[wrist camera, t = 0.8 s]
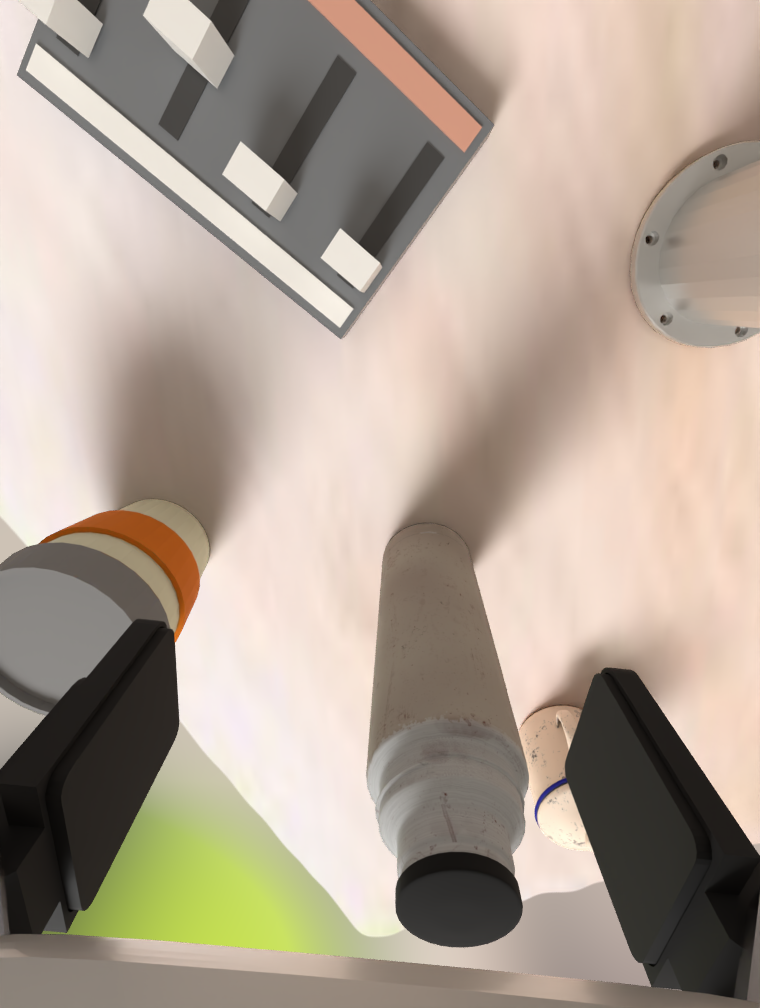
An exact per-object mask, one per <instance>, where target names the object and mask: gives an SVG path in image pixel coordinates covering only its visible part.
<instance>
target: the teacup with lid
mask: <svg viewBox="0 0 760 1008" xmlns="http://www.w3.org/2000/svg"><path fill="white" fill-rule="evenodd" d="M582 710H583V709H580V708H577V707H573V706H553V707H548V708H545V709H542V710H540V711H538V712H536V713H534V714H533V715H532V716H530V717H529V718H528V719H527V720H526V721H525V722H524V724H523V725H522V727H521V729H520V732H519V736H520V740H521V744H522V747H523V751H524V754H525V758H526V762H527V767H528V772H529V786H530V790H531V793H532V797H533V801H534V805H535V819H536V822H537V824H538V826H539V828H540V829H541V831H542V832H543V833H544V834H545V836H546V837H547V838H548V839H550V840H551V841H552V842H554V843H555V844H557V845H559V846H562V847H564V848H568V849H572V850H578V851H591V852H592V853H594V852H593V849H592V847H591V844H590V841H589V839H588V836H587V833H586V830H585V828H584V825H583V822H582V820H581V817H580V814H579V812H578V809H577V806H576V804H575V801H574V798H573V796H572V793H571V790H570V788H569V785H568V782H567V779H566V775H565V760H566V757H567V754H568V751H569V748H570V745H571V742H572V739H573V736H574V733H575V730H576V728H577V725H578V722H579V719H580V716H581V713H582Z"/></svg>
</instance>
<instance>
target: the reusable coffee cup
mask: <svg viewBox="0 0 760 1008" xmlns="http://www.w3.org/2000/svg"><path fill="white" fill-rule="evenodd" d="M209 554H210V546H209V541H208V537H207V535H206V533H205V530H204V529H203V527H202V526H201V524H200V523H199V521H198V520H197V519H196V518H195V517H194V516H193V515H192V514H191V513H190V512H188V511H187V510H186V509H184V508H182V507H181V506H179V505H177V504H175V503H172V502H169V501H166V500H159V499H145V500H141V501H137V502H135V503H132V504H130V505H128V506H126V507H124V508H122V509H120V510H116V511H107V512H103V513H98V514H96V515H94V516H91V517H89V518H87V519H85V520H82V521H80V522H78V523H76V524H73V525H71V526H69V527H67V528H64V529H62V530H60V531H58V532H56V533H54V534H52V535H50V536H48V537H46V538H45V539H44V540H42V541H41V542H40V543H39V544H37V545H33V546H29V547H26V548H24V549H22V550H20V551H18V552H16V553H14V554H12V555H11V556H10V557H9V558H7V559H6V560H5V561H4V562H3V563H1V564H0V693H1V694H2V695H4V696H5V697H6V698H8V699H10V700H11V701H13V702H15V703H17V704H18V705H20V706H22V707H24V708H26V709H29V710H31V711H33V712H36V713H38V714H42V715H45V716H47V714H48V713H49V712H50V711H51V710H52V709H53V707H54V706H55V705H56V704H57V703H58V702H59V700H60V699H61V698H62V697H63V696H64V695H65V693H66V692H67V691H68V690H69V689H70V688H71V686H72V685H73V684H74V683H75V682H77V681H78V680H79V679H81V678H83V677H86V678H87V676H88V675H89V674H90V673H91V672H92V670H93V669H94V668H95V667H96V666H97V664H98V663H99V662H100V661H101V660H102V658H103V657H104V656H105V655H106V654H107V652H108V651H109V650H110V649H111V648H112V646H113V645H114V644H115V643H116V642H117V640H118V639H119V638H120V637H121V636H122V635H123V633H124V632H125V631H126V630H127V629H128V627H129V626H130V625H131V624H132V623H133V622H134V621H135V620H136V619H148V620H157V621H164V622H165V623H166V625H167V628H168V629H173V631H174V637H175V642H176V641H177V639H178V637H179V635H180V633H181V631H182V629H183V627H184V625H185V622H186V620H187V618H188V616H189V614H190V611H191V609H192V607H193V605H194V603H195V600H196V598H197V595H198V591H199V587H200V578H201V576H202V574H203V571H204V569H205V567H206V565H207V563H208V559H209Z"/></svg>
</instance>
